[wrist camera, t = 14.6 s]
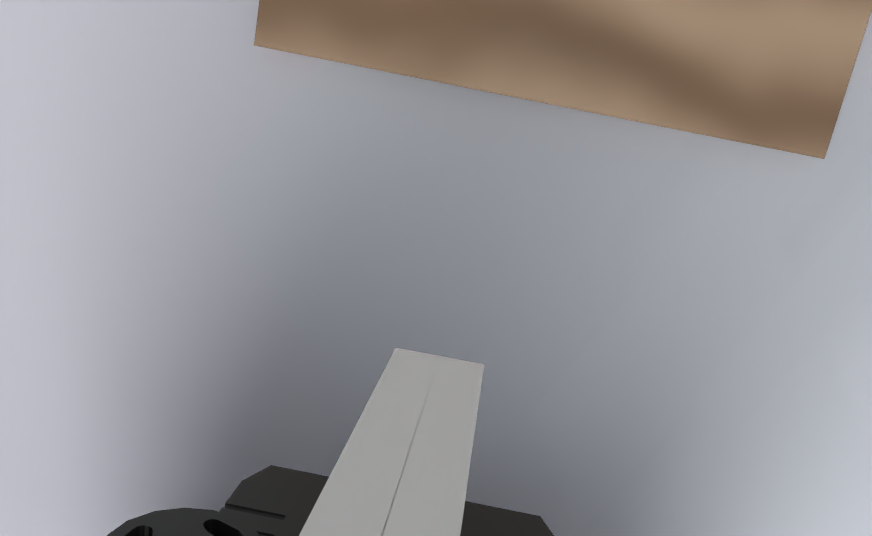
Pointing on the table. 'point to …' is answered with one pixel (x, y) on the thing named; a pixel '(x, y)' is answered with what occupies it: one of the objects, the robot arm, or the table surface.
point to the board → (608, 56)
